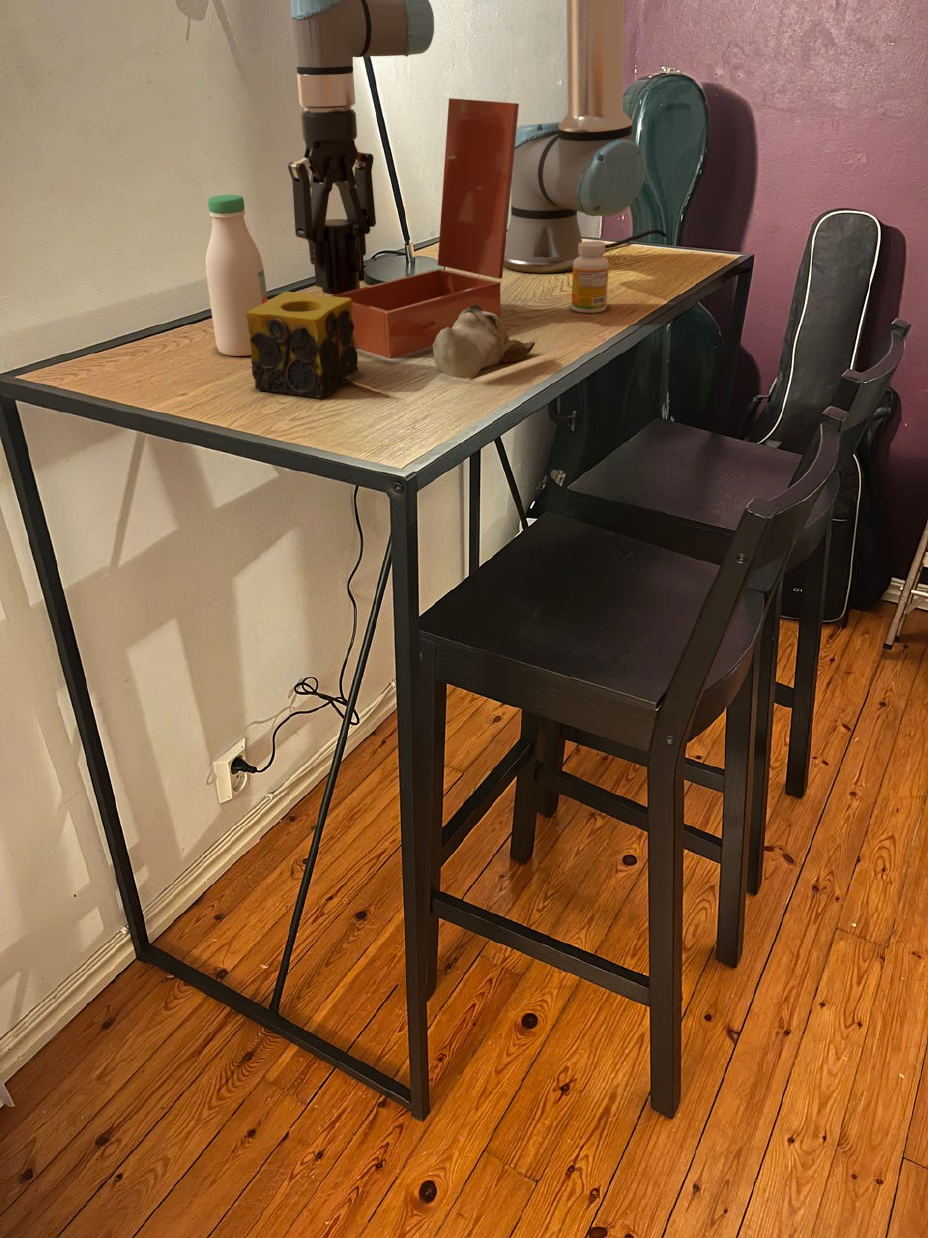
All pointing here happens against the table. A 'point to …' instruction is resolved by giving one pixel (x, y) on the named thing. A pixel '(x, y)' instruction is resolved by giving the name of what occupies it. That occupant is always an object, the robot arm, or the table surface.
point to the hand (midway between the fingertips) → (340, 282)
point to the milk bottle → (232, 274)
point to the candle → (302, 344)
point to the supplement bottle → (590, 278)
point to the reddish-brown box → (416, 309)
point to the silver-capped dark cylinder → (342, 255)
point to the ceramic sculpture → (475, 344)
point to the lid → (477, 185)
